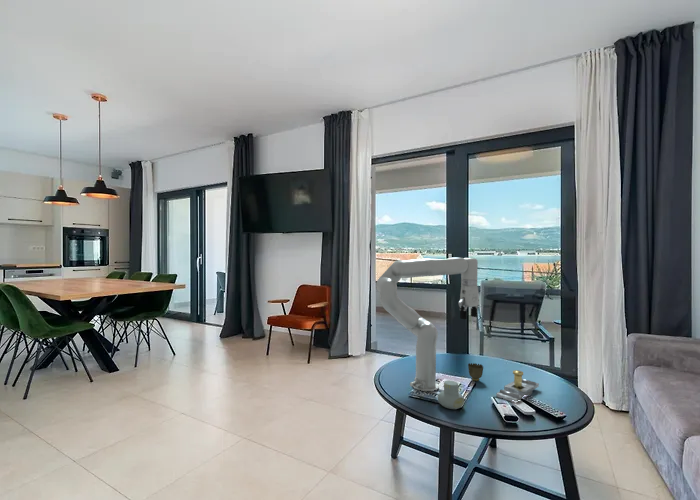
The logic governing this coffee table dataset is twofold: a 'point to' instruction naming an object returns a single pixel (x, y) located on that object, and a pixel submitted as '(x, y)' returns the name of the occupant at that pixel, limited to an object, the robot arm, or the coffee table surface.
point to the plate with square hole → (517, 390)
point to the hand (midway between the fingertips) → (468, 317)
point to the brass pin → (518, 379)
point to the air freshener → (451, 396)
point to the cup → (475, 371)
